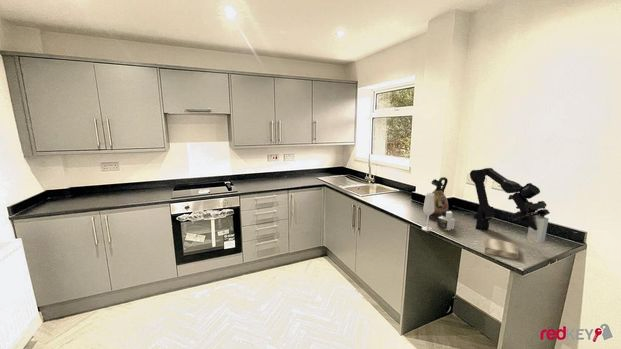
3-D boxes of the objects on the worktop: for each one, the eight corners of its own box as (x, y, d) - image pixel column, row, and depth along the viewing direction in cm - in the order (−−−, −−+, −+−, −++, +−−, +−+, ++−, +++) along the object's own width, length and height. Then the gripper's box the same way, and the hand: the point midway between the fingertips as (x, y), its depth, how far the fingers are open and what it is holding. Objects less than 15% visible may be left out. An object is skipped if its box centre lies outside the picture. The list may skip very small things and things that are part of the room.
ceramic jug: (434, 220, 182) (437, 179, 177) (420, 213, 197) (423, 175, 191) (454, 218, 186) (458, 178, 181) (439, 211, 201) (442, 174, 195)
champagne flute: (434, 229, 167) (438, 194, 163) (429, 232, 163) (432, 195, 159) (425, 226, 172) (428, 191, 168) (419, 228, 169) (422, 193, 164)
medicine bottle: (437, 227, 171) (438, 210, 169) (444, 225, 174) (446, 208, 172) (446, 231, 165) (448, 213, 162) (454, 229, 167) (455, 211, 165)
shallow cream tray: (484, 252, 136) (485, 247, 136) (484, 242, 148) (484, 237, 147) (517, 259, 129) (518, 254, 128) (514, 248, 141) (515, 243, 140)
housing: (536, 242, 132) (540, 219, 130) (526, 238, 137) (530, 215, 135) (544, 242, 133) (548, 218, 131) (534, 238, 138) (538, 215, 135)
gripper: (520, 196, 133) (539, 224, 124) (548, 194, 136) (569, 221, 128) (504, 206, 142) (520, 233, 133) (531, 204, 145) (549, 230, 137)
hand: (540, 229), depth 132 cm, fingers closed on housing, 5 cm apart
